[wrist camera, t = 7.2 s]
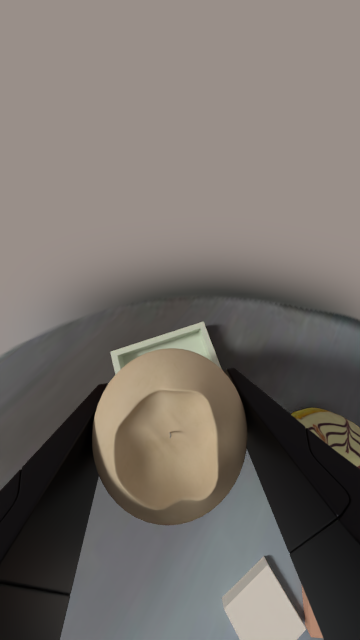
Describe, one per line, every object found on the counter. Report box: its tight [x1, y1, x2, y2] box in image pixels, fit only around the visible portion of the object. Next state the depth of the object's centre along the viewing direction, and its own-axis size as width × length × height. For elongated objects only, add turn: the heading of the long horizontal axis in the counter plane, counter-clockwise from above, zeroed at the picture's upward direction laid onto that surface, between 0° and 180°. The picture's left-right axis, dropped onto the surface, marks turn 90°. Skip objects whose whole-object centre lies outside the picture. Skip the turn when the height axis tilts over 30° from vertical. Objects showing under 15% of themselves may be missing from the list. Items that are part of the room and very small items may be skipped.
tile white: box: [222, 556, 306, 640], centre depth 15 cm, size 5×5×1 cm
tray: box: [111, 322, 221, 374], centre depth 19 cm, size 11×11×2 cm
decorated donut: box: [291, 408, 360, 468], centre depth 16 cm, size 10×11×4 cm
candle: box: [92, 348, 247, 525], centre depth 9 cm, size 6×6×10 cm
